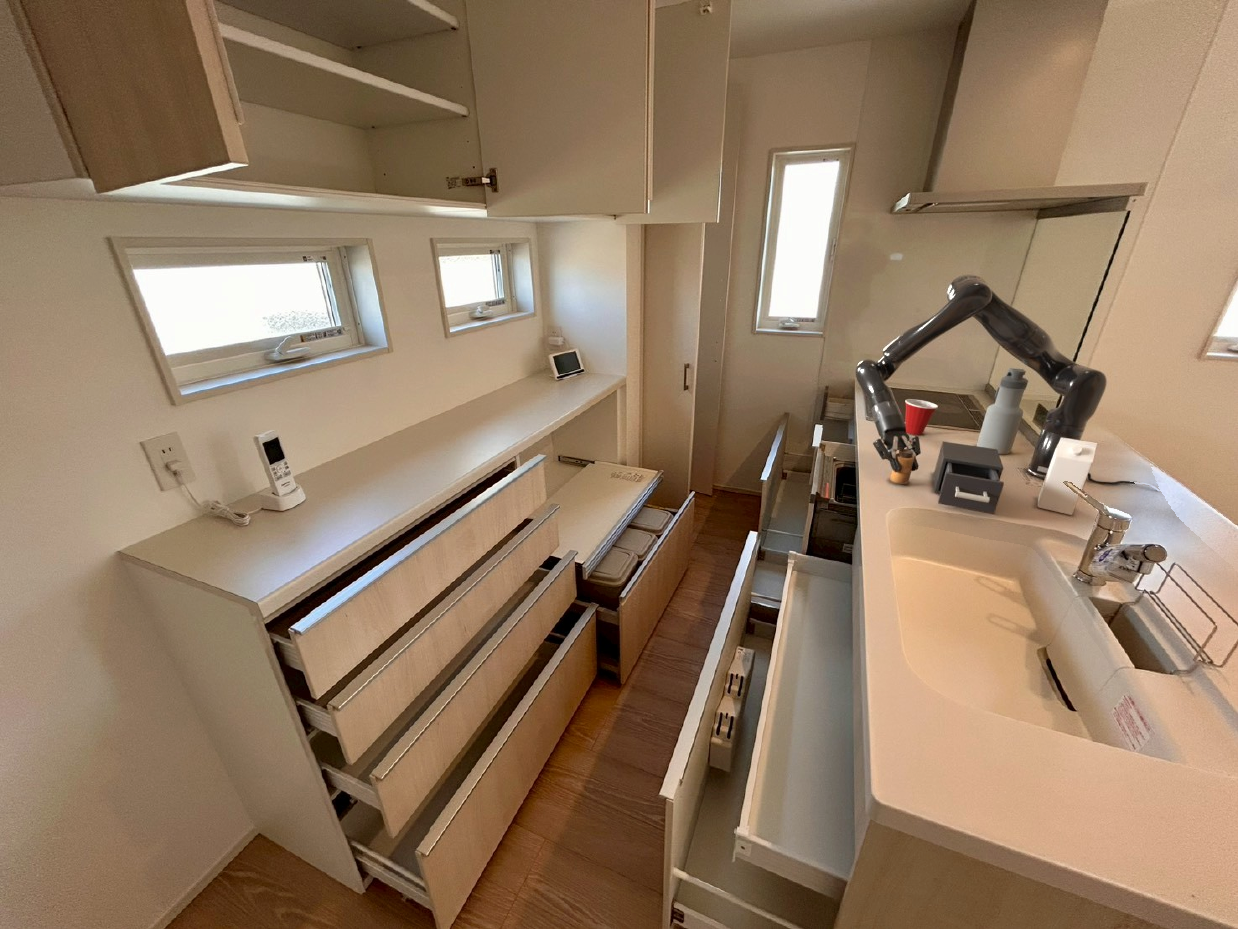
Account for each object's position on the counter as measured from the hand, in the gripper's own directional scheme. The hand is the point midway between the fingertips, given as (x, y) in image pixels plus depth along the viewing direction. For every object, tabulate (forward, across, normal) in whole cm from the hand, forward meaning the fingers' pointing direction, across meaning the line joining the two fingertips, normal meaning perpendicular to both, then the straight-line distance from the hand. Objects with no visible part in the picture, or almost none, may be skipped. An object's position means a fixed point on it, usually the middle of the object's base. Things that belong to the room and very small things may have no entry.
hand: (906, 470), depth 145 cm
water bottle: (-11, -50, -18) cm, 54 cm away
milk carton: (+17, -30, +10) cm, 36 cm away
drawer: (+13, -8, +7) cm, 16 cm away
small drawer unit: (+6, -15, 0) cm, 17 cm away
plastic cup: (-26, -36, -33) cm, 55 cm away
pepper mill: (+2, 0, -4) cm, 5 cm away
